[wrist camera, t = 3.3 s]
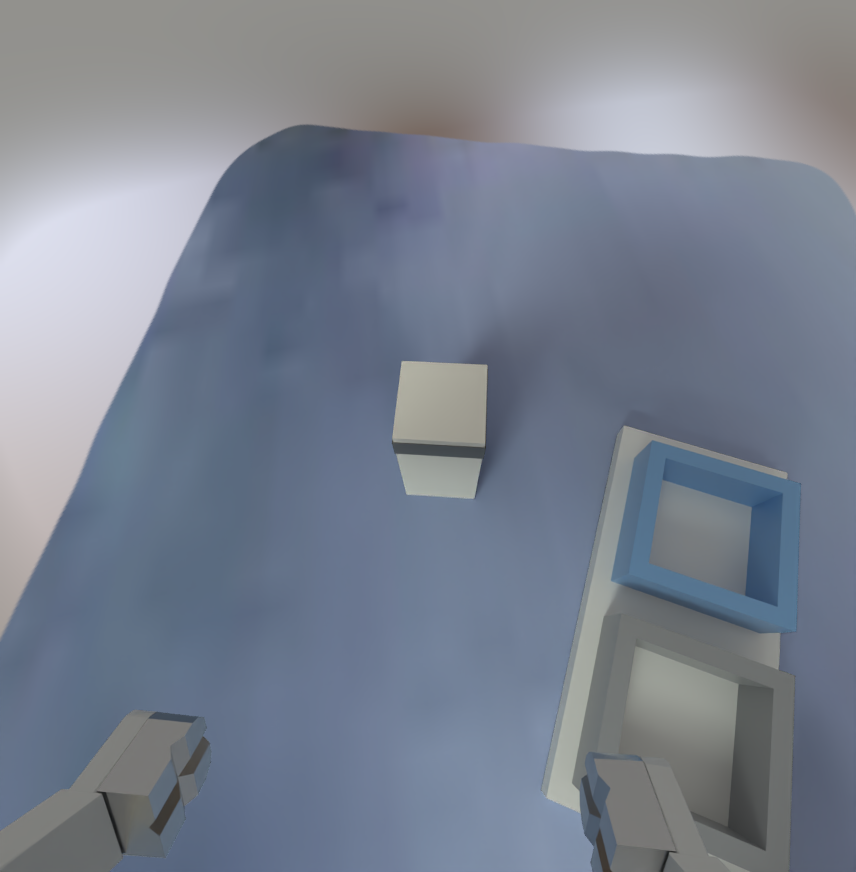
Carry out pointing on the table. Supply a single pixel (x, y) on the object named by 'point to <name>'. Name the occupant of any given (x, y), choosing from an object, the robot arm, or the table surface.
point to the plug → (441, 427)
